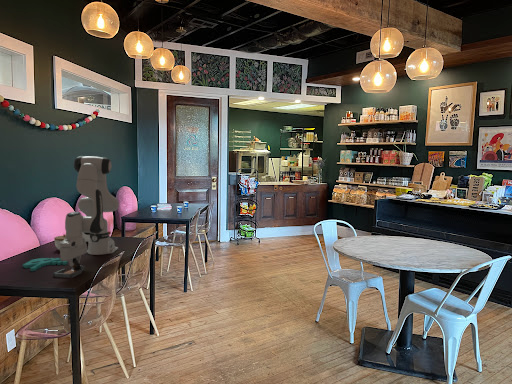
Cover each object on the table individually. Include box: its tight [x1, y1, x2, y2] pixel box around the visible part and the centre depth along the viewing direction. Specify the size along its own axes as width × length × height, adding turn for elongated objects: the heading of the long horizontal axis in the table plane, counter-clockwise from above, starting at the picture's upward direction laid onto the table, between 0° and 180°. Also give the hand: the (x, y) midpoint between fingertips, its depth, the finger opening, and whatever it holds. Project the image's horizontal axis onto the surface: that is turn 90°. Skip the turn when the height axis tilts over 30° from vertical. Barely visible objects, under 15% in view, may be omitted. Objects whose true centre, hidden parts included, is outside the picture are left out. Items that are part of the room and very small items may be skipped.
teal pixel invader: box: [22, 257, 69, 272], centre depth 229 cm, size 20×2×20 cm
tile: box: [64, 269, 77, 274], centre depth 213 cm, size 6×6×1 cm
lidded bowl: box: [53, 233, 66, 252], centre depth 267 cm, size 13×13×11 cm
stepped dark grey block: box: [70, 257, 86, 272], centre depth 216 cm, size 4×7×8 cm
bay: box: [52, 268, 83, 279], centre depth 209 cm, size 9×11×2 cm
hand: (74, 264), depth 215 cm, fingers closed on stepped dark grey block, 4 cm apart
